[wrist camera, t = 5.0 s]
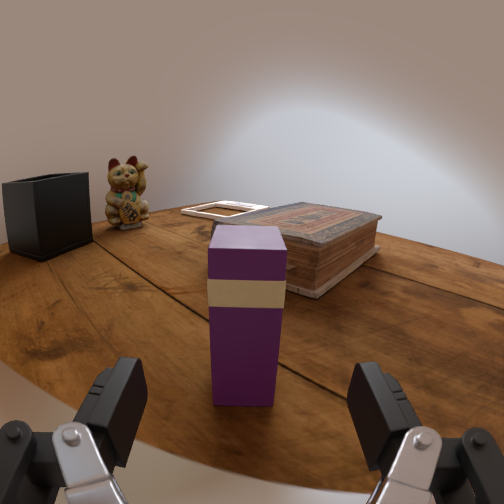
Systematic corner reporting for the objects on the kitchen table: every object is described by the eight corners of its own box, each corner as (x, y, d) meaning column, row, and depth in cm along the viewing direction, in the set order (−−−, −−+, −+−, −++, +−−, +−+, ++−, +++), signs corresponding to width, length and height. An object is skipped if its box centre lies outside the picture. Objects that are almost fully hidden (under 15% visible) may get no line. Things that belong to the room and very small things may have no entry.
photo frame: (269, 205, 84) (228, 216, 69) (269, 210, 84) (228, 221, 69) (225, 199, 91) (181, 208, 76) (225, 203, 91) (181, 213, 77)
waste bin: (42, 262, 42) (32, 181, 38) (9, 252, 46) (1, 183, 42) (93, 241, 53) (88, 171, 49) (56, 235, 57) (51, 173, 53)
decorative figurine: (112, 233, 59) (109, 157, 54) (100, 226, 64) (97, 158, 59) (154, 225, 65) (152, 154, 60) (138, 219, 71) (136, 154, 66)
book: (384, 214, 50) (320, 244, 32) (379, 252, 53) (314, 304, 34) (299, 200, 60) (203, 219, 42) (297, 234, 63) (204, 267, 44)
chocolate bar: (273, 407, 19) (288, 250, 16) (212, 405, 19) (206, 248, 16) (269, 362, 24) (278, 226, 21) (217, 360, 24) (216, 224, 21)
